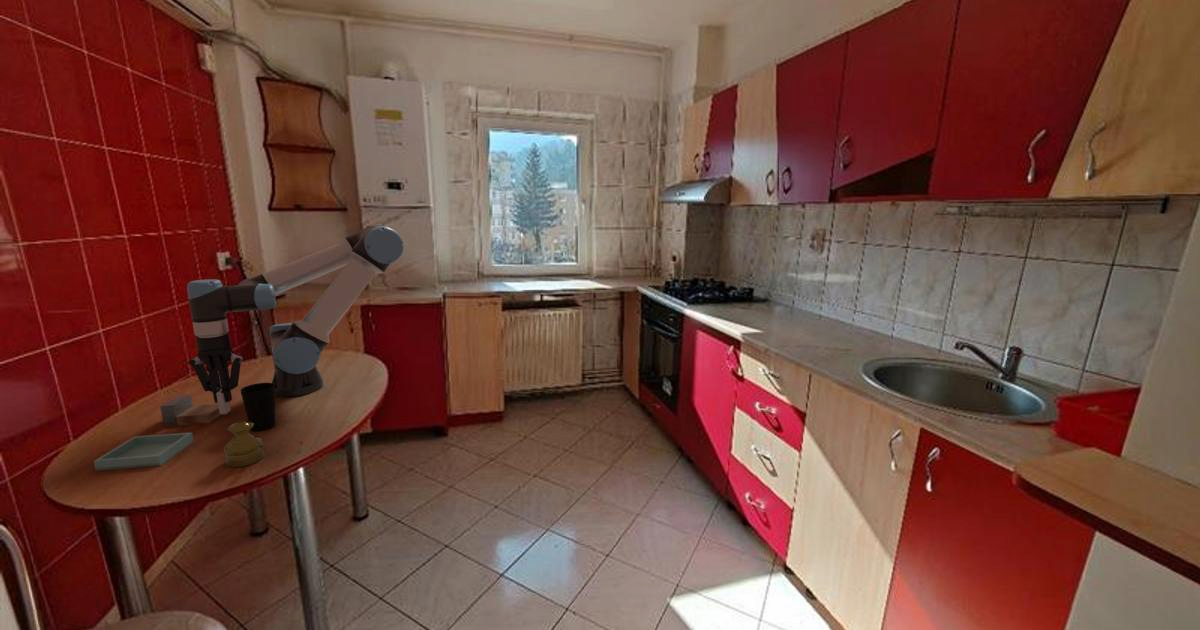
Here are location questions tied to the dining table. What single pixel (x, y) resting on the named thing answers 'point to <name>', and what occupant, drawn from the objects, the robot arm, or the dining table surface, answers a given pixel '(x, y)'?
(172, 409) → the block
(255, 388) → the cup
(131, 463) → the tray
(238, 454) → the olive yellow vase
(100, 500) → the dining table surface
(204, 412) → the tan square block
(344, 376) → the dining table surface
